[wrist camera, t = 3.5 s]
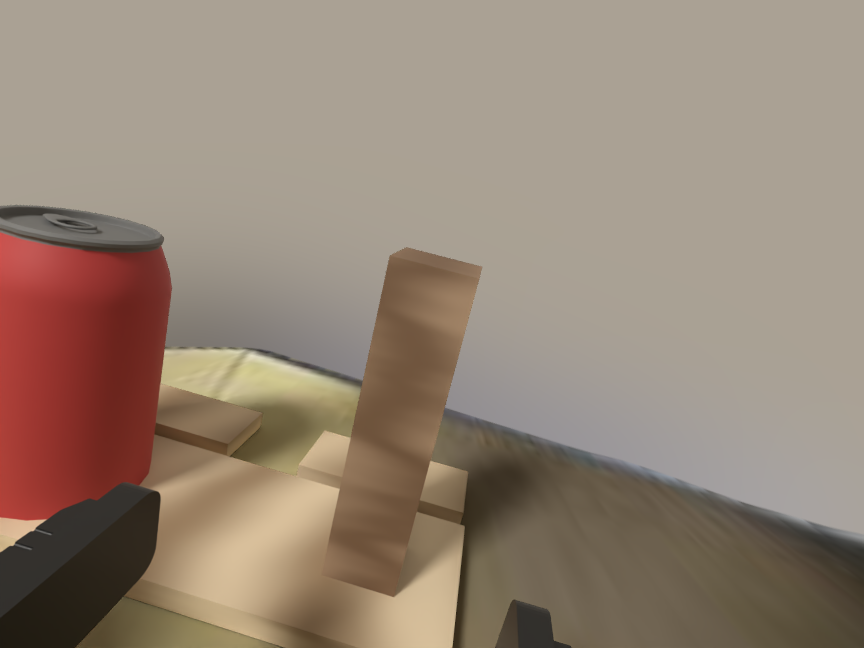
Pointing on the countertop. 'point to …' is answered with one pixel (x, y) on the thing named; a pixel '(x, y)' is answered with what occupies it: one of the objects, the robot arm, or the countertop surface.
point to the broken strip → (323, 464)
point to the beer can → (77, 355)
